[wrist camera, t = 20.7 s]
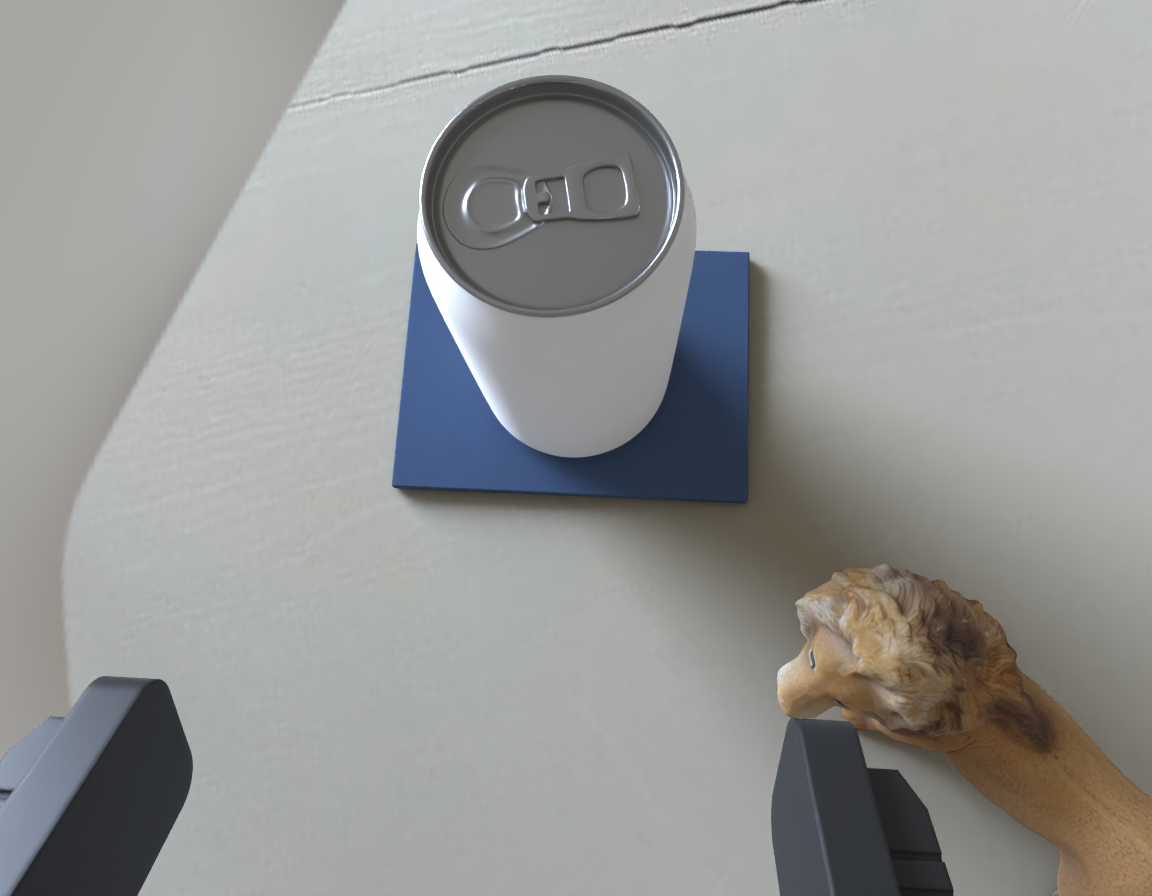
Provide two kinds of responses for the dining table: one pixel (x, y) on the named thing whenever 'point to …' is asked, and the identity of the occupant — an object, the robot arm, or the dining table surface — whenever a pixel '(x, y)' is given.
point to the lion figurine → (969, 716)
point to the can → (560, 257)
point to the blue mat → (633, 470)
